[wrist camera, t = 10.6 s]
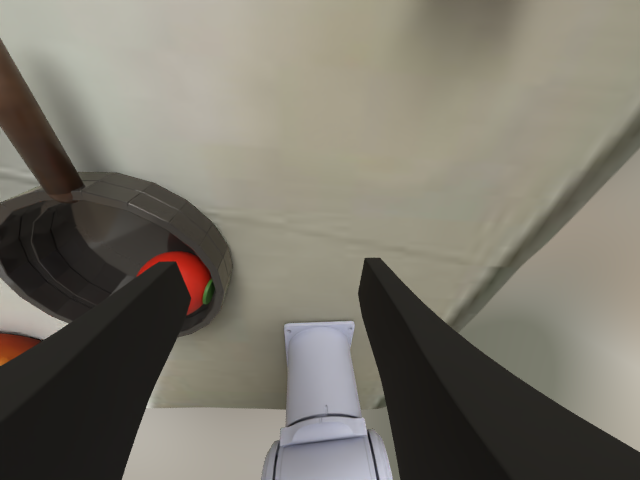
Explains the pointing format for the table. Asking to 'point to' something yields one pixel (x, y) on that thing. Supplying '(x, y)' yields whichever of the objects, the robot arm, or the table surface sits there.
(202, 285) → the tomato
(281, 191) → the table surface
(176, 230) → the pan
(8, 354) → the fruit
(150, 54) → the table surface
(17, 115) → the pan handle
